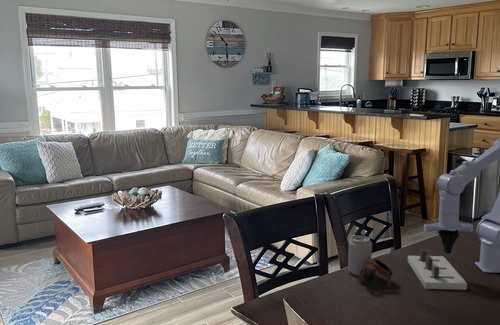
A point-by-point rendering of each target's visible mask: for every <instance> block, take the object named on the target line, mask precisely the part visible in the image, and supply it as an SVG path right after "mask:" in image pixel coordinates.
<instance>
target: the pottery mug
mask: <svg viewBox="0 0 500 325" xmlns="http://www.w3.org/2000/svg"><path fill="white" fill-rule="evenodd" d="M366 269H367V270H366ZM393 273H394V272H393V270H392V269H391V267H389V266H388V265H387V264H385V263H384V262H382V261H381V260H379V259H376V258H372V261H371V262H368V263H366V264H365V265H364V266H363V267H362V269H361V271H360V274H359V276H358V278H357V280H358V283H359V284H360V285H363V284H364V285H366V286H371V284H372V282H373V280H374V279H375V277H376V276H377V274H378V275H380V276H381V277H384V278H385V279H387V282H386V287H389V286H390V285H391V282H392V275H393Z"/></svg>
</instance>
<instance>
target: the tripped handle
mask: <svg viewBox="0 0 500 325" xmlns="http://www.w3.org/2000/svg"><path fill="white" fill-rule="evenodd" d="M432 276H433V277H434V278H439V267H438V266H437V264H433V265H432Z"/></svg>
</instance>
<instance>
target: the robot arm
mask: <svg viewBox="0 0 500 325" xmlns="http://www.w3.org/2000/svg"><path fill="white" fill-rule="evenodd" d="M498 160H500V138H498V139H496V140H495V141H494V142H493V144H492V146H490V147H489V148H488V149H487V150H485V151H484V152H483V153H481V155H479V156H478V157H476V158H475V159H474V160H464V161H463V162H461V165H459V166H458V167H456V168H455V169H452V170H450V172H449V173H443V174H442V175H439V177H438V179H437V181H436V183H435V186H436V188H437V189H438V195H439V208H438V210H439V211H438V222H436V223H427V224H424V223H423V224H424V226H423V230H424V232H426V233H429V232H437V233H438V235H439V237H440V239H441V242H442V246H443V252H444V253H445V254H448V255H449V254H451V253H452V249H453V247H454V244H455V243H456V241H457V239H458V238H459V237H460V233H459V232H470V233H472V232H474V225H473V224H471V223H460V221H459V218H460V198H461V197H460V196H461V193H463V192H464V190H465V187H466V186H467V185H468V184H469V183H471V181H473V180H474V179H476V178H478V177H479V176H480V175H481V171H482V170H483V169H484V168H486V167H488V166H490V165H491V164H493V163H495V162H496V161H498ZM475 231H476V234H477V236H478V237H479V241H480V253H479V254H480V255H479V261H475V262H474V264H475V265H476V266H477V267H478V268H479V269H480V270H481V271H482V272H483V273H500V191H499V193H498V195H497V197H496V200H495V202H494V204H493V207H492V210H491V211H490V212H488V213H486V214H484V215H483V217H482V219H481V220H480V221H479V222H478V223H477V226H476V230H475Z"/></svg>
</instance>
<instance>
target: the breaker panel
mask: <svg viewBox="0 0 500 325" xmlns="http://www.w3.org/2000/svg"><path fill="white" fill-rule="evenodd" d="M407 262H408V264H409V266H410V267H411V268H412V270H413V272H414V274H415V275H416V277H417V278H418V279H419V281H420V283H421V284H422V286H423V287H424V289H425V290H426V289H427V290H428V289H430V290H433V289H434V290H459V291H461V290H463V291H464V290H466V291H467V289H468V283H467V282H466V280H465V279H464V278H463V277H462V275H461V274H460V273H459V272H458V271H457V270H456V269H455V268H454V267H453V265H452V264H451V263H450V262H449V261H448V260H447V258H445V256H442V255H440V256H439V255H437V256H436V255H427V250H426V249H425V248H419V255H407ZM433 264H437V266H438V267H439V278H434V277H433V276H432V265H433Z"/></svg>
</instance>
